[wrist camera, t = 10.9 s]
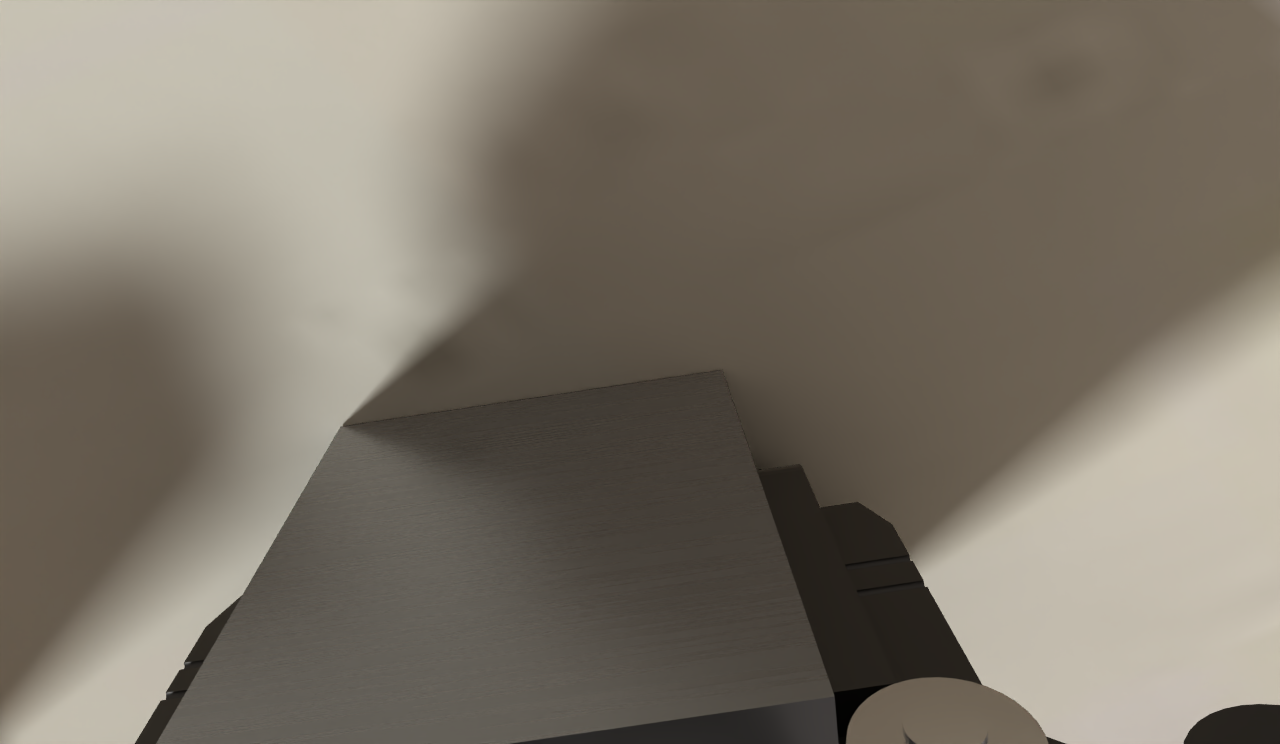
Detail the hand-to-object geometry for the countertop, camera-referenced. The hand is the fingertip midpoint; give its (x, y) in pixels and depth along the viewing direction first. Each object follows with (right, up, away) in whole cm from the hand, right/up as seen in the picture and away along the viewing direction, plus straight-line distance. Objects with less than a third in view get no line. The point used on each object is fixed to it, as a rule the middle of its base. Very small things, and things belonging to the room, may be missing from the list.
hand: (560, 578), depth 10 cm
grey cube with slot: (0, 0, 0) cm, 0 cm away
